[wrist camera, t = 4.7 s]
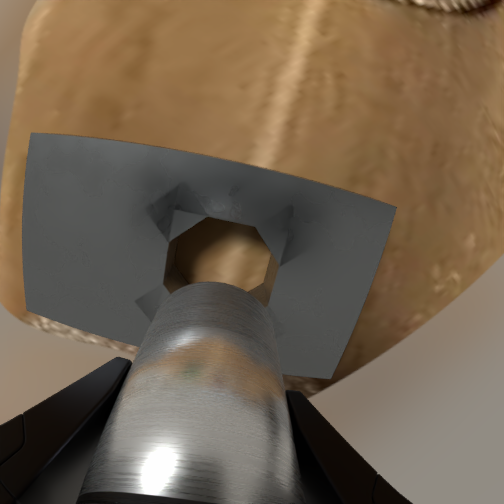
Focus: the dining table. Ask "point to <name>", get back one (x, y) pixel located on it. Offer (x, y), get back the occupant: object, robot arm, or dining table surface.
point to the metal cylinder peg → (200, 410)
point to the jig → (178, 221)
